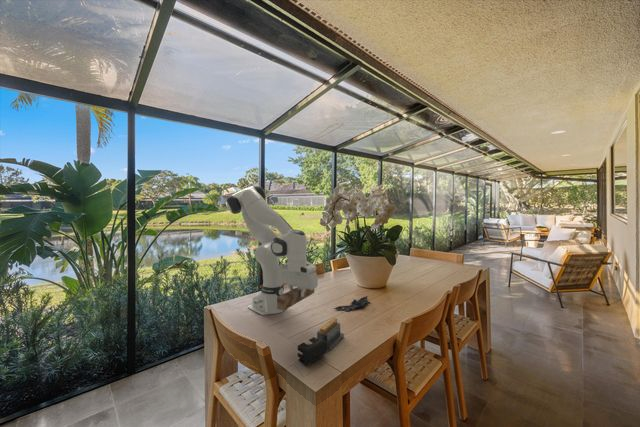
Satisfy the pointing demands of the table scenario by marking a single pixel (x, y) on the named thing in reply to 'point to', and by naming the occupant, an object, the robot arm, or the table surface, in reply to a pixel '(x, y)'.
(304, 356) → the end cap
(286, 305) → the walnut beam
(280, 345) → the table surface
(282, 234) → the robot arm
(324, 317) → the table surface
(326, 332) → the fulcrum stand
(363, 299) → the decorative bat
